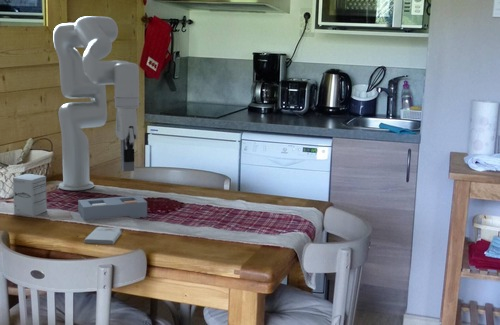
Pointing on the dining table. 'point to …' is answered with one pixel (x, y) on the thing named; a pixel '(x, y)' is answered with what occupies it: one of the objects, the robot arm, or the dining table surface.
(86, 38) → the robot arm
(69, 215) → the grey flat plate
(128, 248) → the dining table surface
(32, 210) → the supplement box
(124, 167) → the plug
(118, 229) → the external hard drive
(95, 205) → the socket block
